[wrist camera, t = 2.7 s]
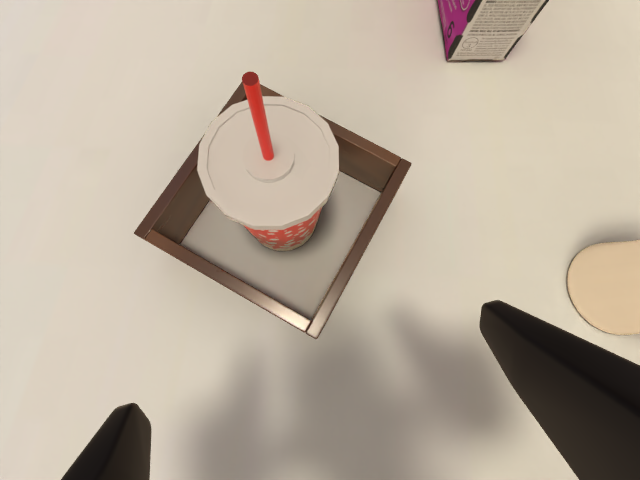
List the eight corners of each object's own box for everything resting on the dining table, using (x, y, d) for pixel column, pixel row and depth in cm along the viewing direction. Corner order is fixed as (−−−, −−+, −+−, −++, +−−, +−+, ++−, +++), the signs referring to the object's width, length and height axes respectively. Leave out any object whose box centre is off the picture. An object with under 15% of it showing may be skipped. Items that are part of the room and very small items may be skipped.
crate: (394, 189, 24) (412, 163, 20) (315, 336, 22) (316, 339, 18) (255, 115, 25) (245, 76, 21) (163, 248, 23) (133, 233, 19)
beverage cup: (272, 160, 25) (228, -40, 11) (345, 206, 24) (394, 57, 10) (219, 229, 23) (95, 101, 10) (294, 280, 23) (275, 220, 9)
